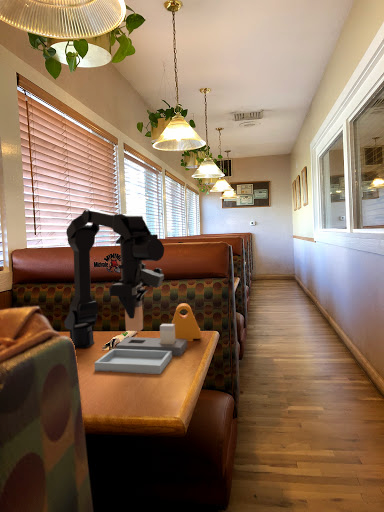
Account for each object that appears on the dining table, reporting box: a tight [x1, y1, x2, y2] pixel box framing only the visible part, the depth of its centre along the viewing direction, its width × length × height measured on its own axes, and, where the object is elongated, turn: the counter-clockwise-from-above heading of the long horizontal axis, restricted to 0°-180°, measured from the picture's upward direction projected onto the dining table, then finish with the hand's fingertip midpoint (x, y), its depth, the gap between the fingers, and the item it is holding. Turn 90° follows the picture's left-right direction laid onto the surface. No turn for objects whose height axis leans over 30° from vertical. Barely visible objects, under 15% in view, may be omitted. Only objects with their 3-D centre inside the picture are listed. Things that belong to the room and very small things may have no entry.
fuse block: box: [115, 336, 188, 357], centre depth 115 cm, size 20×9×2 cm, turn 79°
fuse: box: [159, 323, 175, 345], centre depth 114 cm, size 4×3×8 cm
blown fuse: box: [124, 299, 144, 332], centre depth 102 cm, size 4×3×8 cm
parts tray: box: [94, 348, 173, 375], centre depth 102 cm, size 18×12×2 cm, turn 79°
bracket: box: [171, 302, 202, 342], centre depth 127 cm, size 11×7×12 cm, turn 92°
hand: (133, 317), depth 102 cm, fingers closed on blown fuse, 3 cm apart
